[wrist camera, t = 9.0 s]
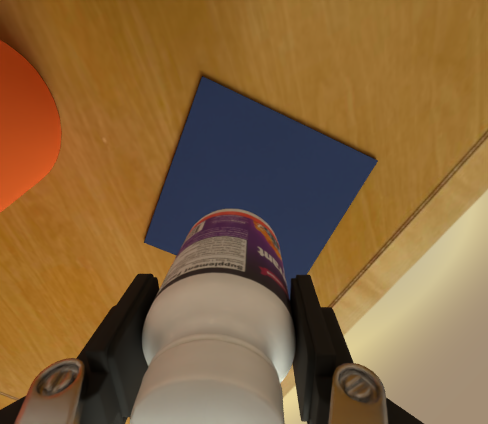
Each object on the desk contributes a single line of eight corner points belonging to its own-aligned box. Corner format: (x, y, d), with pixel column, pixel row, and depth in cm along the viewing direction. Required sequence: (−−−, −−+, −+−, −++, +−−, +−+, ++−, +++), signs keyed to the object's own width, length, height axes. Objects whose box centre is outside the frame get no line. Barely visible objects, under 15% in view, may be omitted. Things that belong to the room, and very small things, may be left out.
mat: (202, 76, 27) (202, 75, 27) (376, 160, 30) (378, 160, 29) (144, 241, 34) (143, 242, 34) (290, 298, 37) (290, 300, 36)
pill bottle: (286, 280, 17) (325, 490, 8) (200, 294, 17) (141, 503, 8) (270, 197, 15) (297, 342, 6) (174, 215, 15) (62, 373, 6)
